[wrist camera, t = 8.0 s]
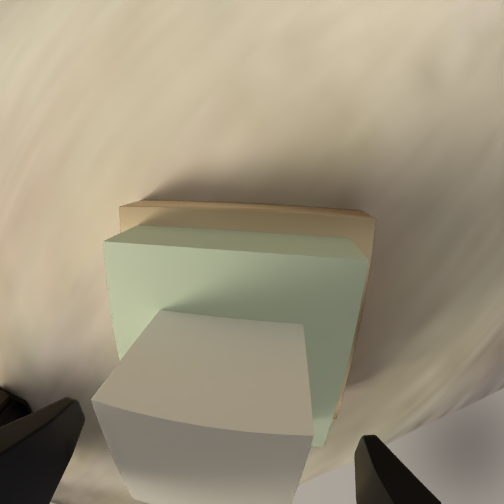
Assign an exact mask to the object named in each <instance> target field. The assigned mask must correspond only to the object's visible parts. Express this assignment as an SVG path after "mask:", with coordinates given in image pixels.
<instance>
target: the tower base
mask: <svg viewBox="0 0 504 504" xmlns="http://www.w3.org/2000/svg"><path fill="white" fill-rule="evenodd" d="M119 218H120V233H122V232H124V231H126V230H128V229H130V228H132V227H134V226H137V225H150V226H169V227H188V228H206V229H223V230H239V231H254V232H269V233H284V234H298V235H311V236H325V237H337V238H349V239H350V240H351V241H352V242H353V243H354V244H355V245H356V247H357V248H358V249H359V250H360V251H361V252H362V253H363V255H364V256H365V257H366V258H367V259H368V265H367V271H366V277H365V283H364V289H363V295H362V300H361V305H360V310H359V315H358V320H357V325H356V330H355V334H354V339H353V343H352V348H351V352H350V356H349V360H348V364H347V368H346V372H345V376H344V380H343V384H342V388H341V391H340V395H339V398H338V402H337V405H336V409H335V412H334V416H333V419H336V418H337V415H338V411H339V408H340V404H341V401H342V397H343V393H344V390H345V386H346V382H347V378H348V374H349V370H350V366H351V362H352V358H353V354H354V349H355V345H356V340H357V336H358V331H359V326H360V321H361V316H362V311H363V306H364V300H365V295H366V289H367V283H368V277H369V270H370V264H371V257H372V250H373V242H374V234H375V226H376V219H375V218H373V217H372V216H370V215H368V214H367V213H365V212H363V211H358V210H346V209H334V208H321V207H306V206H291V205H274V204H255V203H233V202H205V201H159V200H140V201H137V202H133V203H130V204H127V205H123V206H120V207H119Z"/></svg>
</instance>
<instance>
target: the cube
mask: <svg viewBox="0 0 504 504" xmlns="http://www.w3.org/2000/svg"><path fill="white" fill-rule="evenodd" d="M91 402H92V405H93V408H94V411H95V413H96V416H97V419H98V422H99V424H100V427H101V430H102V432H103V435H104V437H105V440H106V443H107V445H108V447H109V450H110V452H111V455H112V457H113V459H114V461H115V464H116V466H117V468H118V470H119V472H120V475H121V477H122V479H123V481H124V483H125V485H126V487H127V489H128V491H129V493H130V495H131V497H132V499H135V500H138V501H142V502H145V503H149V504H292V501H293V498H294V496H295V493H296V490H297V487H298V484H299V481H300V478H301V475H302V472H303V469H304V466H305V463H306V460H307V457H308V453H309V450H310V447H311V444H312V440H313V437H314V431H313V418H312V407H311V395H310V385H309V374H308V364H307V355H306V345H305V336H304V328H303V324H298V323H284V322H270V321H258V320H247V319H236V318H226V317H216V316H207V315H198V314H190V313H182V312H174V311H166V310H159V312H158V313H157V314H156V315H155V317H154V318H153V319H152V320H151V322H150V323H149V324H148V325H147V327H146V328H145V329H144V331H143V332H142V333H141V334H140V336H139V337H138V338H137V339H136V341H135V342H134V343H133V345H132V346H131V347H130V348H129V350H128V351H127V352H126V354H125V355H124V356H123V358H122V359H121V360H120V361H119V363H118V364H117V365H116V367H115V368H114V369H113V371H112V372H111V373H110V375H109V376H108V377H107V378H106V380H105V381H104V382H103V384H102V385H101V386H100V388H99V389H98V390H97V392H96V393H95V394H94V396H93V397H92V398H91Z"/></svg>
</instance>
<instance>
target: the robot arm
mask: <svg viewBox="0 0 504 504" xmlns="http://www.w3.org/2000/svg"><path fill="white" fill-rule="evenodd" d="M84 421H85V417H84V414H83V411H82V409H81V406H80V404H79V402H78V401H77V400H76V399H73V398H70V397H66V398H63V399H61V400H59V401H57V402H55V403H53V404H51V405H49V406H46V407H44V408H42V409H40V410H38V411H36V412H34V413H32V412H31V410H30V408H29V406H28V404H27V403H26V402H25V401H23V400H21V399H19V398H17V397H15V396H13V395H11V394H9V393H7V392H5V391H3V390H1V389H0V504H49V503H50V501H51V499H52V497H53V495H54V493H55V490H56V488H57V486H58V484H59V482H60V480H61V478H62V476H63V474H64V471H65V469H66V467H67V465H68V463H69V461H70V459H71V457H72V455H73V452H74V449H75V447H76V444H77V441H78V438H79V436H80V433H81V430H82V427H83V425H84ZM355 481H356V501H357V504H441V502H440V501H439V500H438V499H437V498H436V497H435V496H434V495H433V494H432V493H431V492H430V491H429V490H428V489H427V488H426V487H425V486H424V485H423V484H422V483H421V482H420V481H419V480H418V479H417V478H416V477H415V476H414V475H413V473H412V472H411V471H410V470H409V469H408V468H407V467H406V466H405V465H404V464H403V463H402V462H401V461H400V460H399V459H398V458H397V457H396V456H395V455H394V454H393V453H392V452H391V451H390V449H389V448H388V447H387V446H386V445H385V444H384V443H383V442H382V441H381V440H380V439H379V438H378V437H377V436H376V435H364V436H362V437H361V439H360V441H359V444H358V446H357V449H356V451H355Z"/></svg>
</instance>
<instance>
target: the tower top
mask: <svg viewBox="0 0 504 504" xmlns="http://www.w3.org/2000/svg"><path fill="white" fill-rule="evenodd" d="M103 247H104V259H105V270H106V279H107V288H108V296H109V303H110V310H111V317H112V323H113V329H114V335H115V341H116V346H117V352H118V357H119V361H120V360H121V359H122V358H123V356H124V355H125V354H126V352H127V351H128V350H129V348H130V347H131V346H132V345H133V343H134V342H135V341H136V339H137V338H138V337H139V336H140V334H141V333H142V332H143V331H144V329H145V328H146V327H147V325H148V324H149V323H150V322H151V320H152V319H153V318H154V317H155V315H156V314H157V313H158V312H159V310H166V311H174V312H182V313H190V314H198V315H207V316H216V317H226V318H236V319H247V320H258V321H270V322H284V323H298V324H303V328H304V336H305V345H306V355H307V364H308V374H309V385H310V395H311V407H312V418H313V431H314V437H313V440H312V444H311V447H324V444H325V441H326V438H327V435H328V432H329V429H330V425H331V422H332V419H333V416H334V412H335V409H336V405H337V402H338V398H339V395H340V391H341V388H342V384H343V380H344V376H345V372H346V368H347V364H348V360H349V356H350V352H351V348H352V343H353V339H354V334H355V330H356V325H357V320H358V315H359V310H360V305H361V300H362V295H363V289H364V283H365V277H366V271H367V265H368V259H367V258H366V257H365V256H364V255H363V253H362V252H361V251H360V250H359V249H358V248H357V247H356V245H355V244H354V243H353V242H352V241H351V240H350V239H349V238H337V237H325V236H311V235H298V234H284V233H269V232H254V231H239V230H223V229H206V228H188V227H169V226H150V225H137V226H134V227H132V228H130V229H128V230H126V231H124V232H122V233H120V234H117V235H115V236H113V237H111V238H109V239H107V240H105V241H103Z"/></svg>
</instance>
